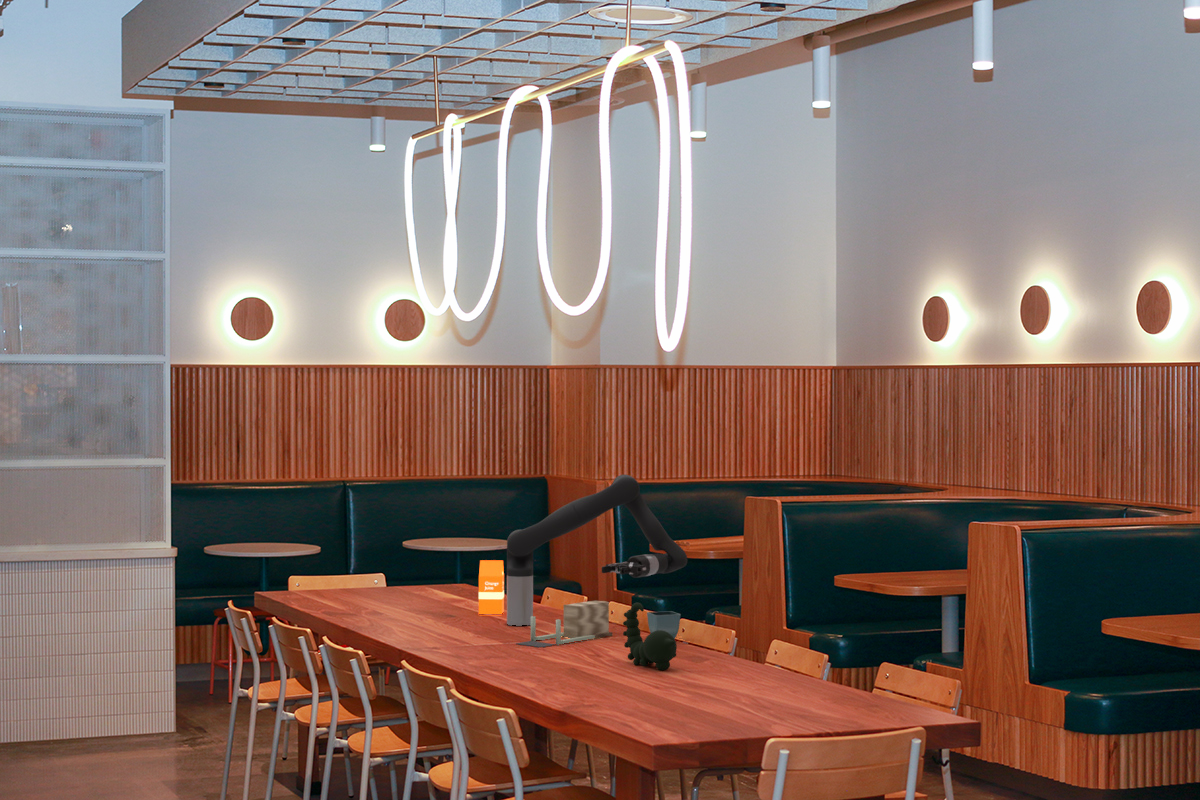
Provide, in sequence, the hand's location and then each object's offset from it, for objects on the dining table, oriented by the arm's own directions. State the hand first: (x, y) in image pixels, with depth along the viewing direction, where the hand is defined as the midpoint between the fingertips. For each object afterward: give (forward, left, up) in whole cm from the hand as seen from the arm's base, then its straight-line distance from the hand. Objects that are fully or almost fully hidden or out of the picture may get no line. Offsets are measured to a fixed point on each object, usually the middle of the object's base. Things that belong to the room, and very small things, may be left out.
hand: (611, 570), depth 465 cm
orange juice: (-49, -41, -21) cm, 67 cm away
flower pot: (+20, +15, -21) cm, 33 cm away
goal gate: (+17, -18, -21) cm, 32 cm away
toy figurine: (+69, +5, -21) cm, 72 cm away
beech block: (+9, -9, -21) cm, 24 cm away
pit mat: (+26, -27, -21) cm, 43 cm away
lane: (+8, -8, -21) cm, 24 cm away
